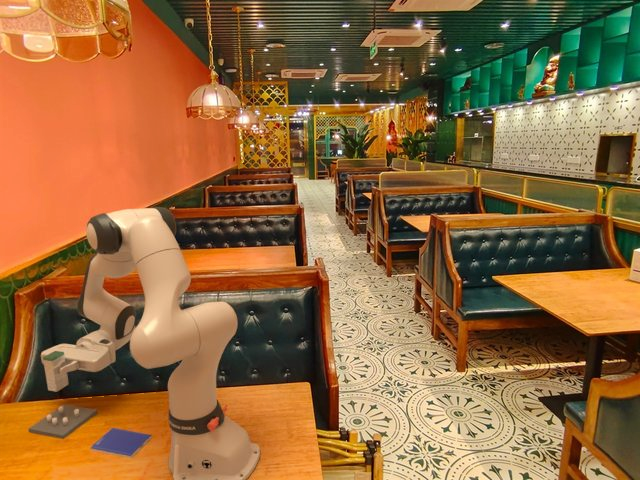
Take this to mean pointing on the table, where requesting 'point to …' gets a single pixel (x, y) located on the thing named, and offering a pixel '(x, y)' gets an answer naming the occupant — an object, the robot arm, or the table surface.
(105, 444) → the hard drive
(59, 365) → the block
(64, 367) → the robot arm
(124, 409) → the table surface
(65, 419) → the dock
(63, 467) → the table surface
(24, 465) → the table surface
